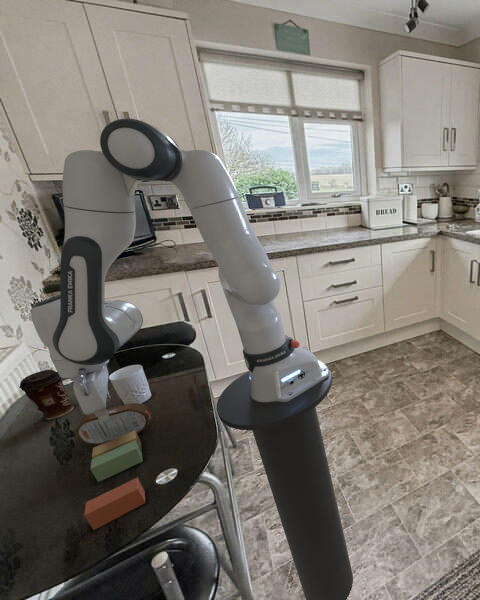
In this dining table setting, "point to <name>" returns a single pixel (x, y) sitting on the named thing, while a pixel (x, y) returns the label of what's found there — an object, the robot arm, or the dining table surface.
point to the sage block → (116, 461)
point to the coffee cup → (47, 393)
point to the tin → (114, 423)
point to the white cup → (131, 384)
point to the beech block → (116, 444)
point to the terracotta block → (114, 503)
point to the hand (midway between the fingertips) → (106, 409)
